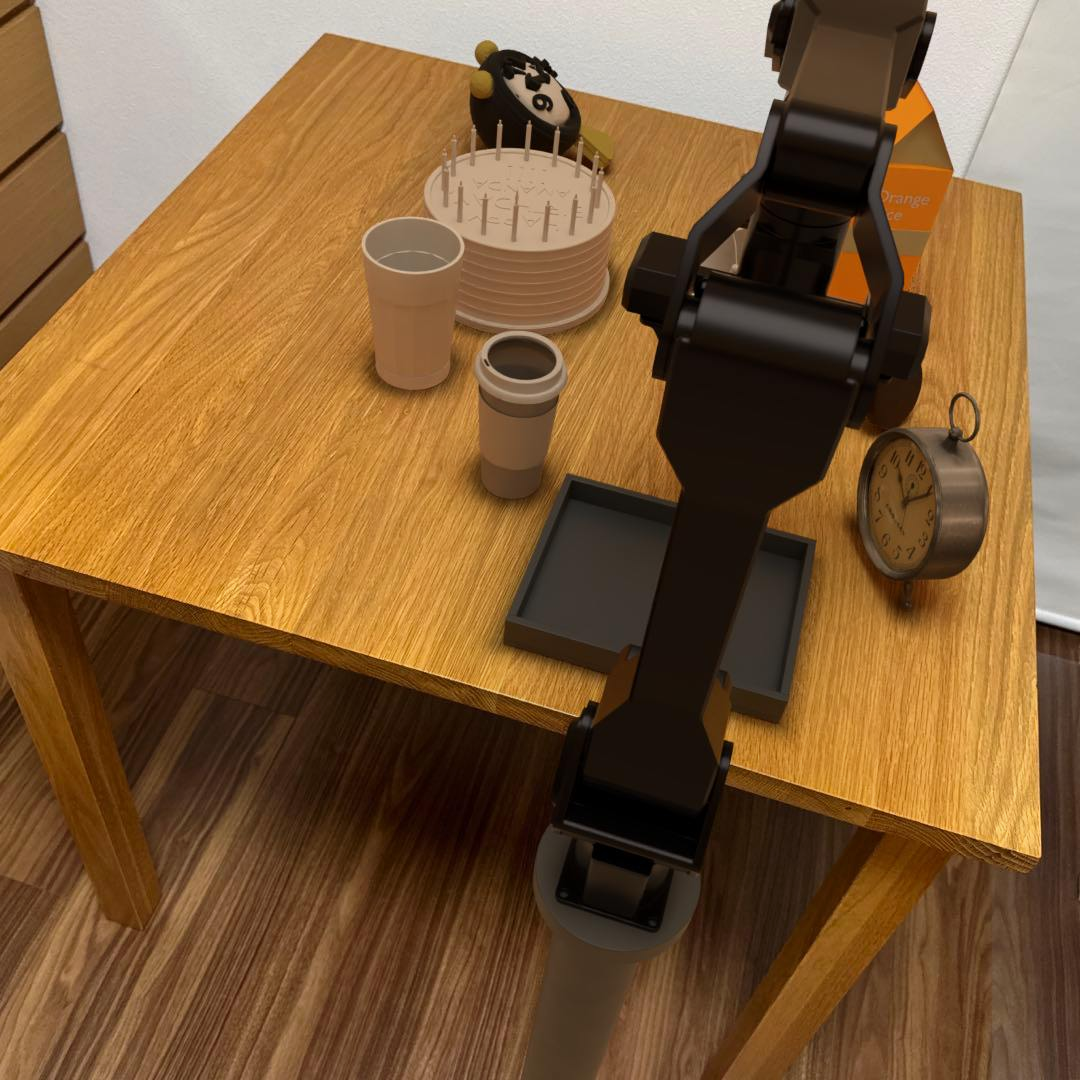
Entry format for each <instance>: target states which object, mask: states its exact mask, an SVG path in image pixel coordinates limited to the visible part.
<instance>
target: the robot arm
mask: <svg viewBox="0 0 1080 1080" xmlns="http://www.w3.org/2000/svg"><path fill="white" fill-rule="evenodd" d="M928 3H929V0H777V2H775V3H774V4H773V5H772V6H771V10H770V15H769V18H768V22H767V26H766V27H767V28H766V35H765V44H764V52H763V57H764V58H768V59H771V72H775V73H779V74H778V77H777V84H778V86H779V87H780V88H781V89H782V90H785V91H786V92H785V93H784V97H783V100H782V99H778V98H773V100H772V101H771V105H770V108H769V111H768V115H767V119H766V121H765V125H764V128H763V131H762V132H763V133H762V136H761V139H760V143H759V146H758V149H757V153H756V157H755V161H754V164H753V166H752V167H751V168H750V169H749V170H747V172H746V173H744V172H743V173H742V174H741V176H740V178H739V180H738V181H737V182H736V183H735V184H734V185H733V186H732V187H730V189H728V191H726V192H725V193H724V195H722V197H720V198H719V199H718V200H717V201H716V202H715V203H714V204H713V205H712V206H711V207H710V208H709V209H708V210H707V211H706V212H705V213H704V214H703V215H702V216H700V217H699V219H697V221H696V222H695V223H694V224H693V225H692V227H691V228H690V230H689V232H688V234H687V238H683V237H680V236H679V237H678V236H676V235H675V236H674V235H671V234H667V233H666V234H665V233H662V232H658V231H653V230H652V231H651V232H649V233H648V234H646V235H644V237H642V238H641V240H640V242H639V244H638V247H637V249H636V251H635V253H634V256H633V258H632V260H631V261H630V262H631V263H630V265H629V266H628V269H627V272H626V276H625V280H624V284H623V288H622V295H621V301H620V305H621V307H623V309H624V310H625V311H626V312H628V313H632V314H636V315H639V318H638V319H639V322H640V324H641V325H643V326H645V327H648V328H651V329H652V330H653V332H654V334H655V336H656V338H657V344H656V349H655V354H654V358H653V363H652V369H651V378H652V379H655V380H658V381H662V382H665V385H664V390H663V393H662V394H663V395H662V400H661V404H660V409H659V415H658V420H657V425H656V429H655V438H656V441H657V442H658V445H659V447H660V449H661V450H662V452H663V454H664V456H665V458H666V460H667V462H668V463H669V465H670V467H671V469H672V472H673V473H674V475H675V477H676V479H677V481H678V483H679V485H680V491H679V492H680V493H679V496H678V500H677V507H676V511H675V515H674V519H673V523H672V527H671V531H670V535H669V539H668V543H667V547H666V551H665V555H664V559H663V563H662V567H661V571H660V575H659V579H658V583H657V587H656V591H655V595H654V599H653V603H652V607H651V611H650V615H649V619H648V623H647V627H646V631H645V635H644V639H643V643H642V647H640V646H637V645H634V644H628V645H627V646H626V647H625V648H624V649H622V650H621V651H620V654H619V657H618V660H617V663H616V666H614V667H612V668H611V669H610V672H609V674H607V675H608V676H607V679H606V681H605V684H604V686H603V687H604V688H603V691H602V694H601V696H600V699H599V702H598V701H596V700H592V699H589V700H588V701H587V704H586V706H584V707H583V708H582V710H581V713H580V715H578V716H577V717H576V718H573V719H572V720H570V721H569V723H568V727H567V731H566V735H565V738H564V741H563V746H562V750H561V753H560V757H559V761H558V765H557V769H556V772H555V776H554V780H553V784H552V790H551V793H550V799H549V800H550V802H551V804H552V805H553V807H554V808H553V813H552V817H551V821H550V824H549V825H553V826H552V833H555V834H558V835H561V834H563V835H566V836H570V837H572V839H571V843H570V846H569V849H568V852H567V855H566V859H565V862H564V865H563V868H562V872H561V875H560V878H559V881H558V885H557V888H556V891H555V899H556V901H557V902H559V903H560V904H563V905H566V906H569V907H572V908H576V909H579V910H582V911H585V912H588V913H591V914H594V915H597V916H600V917H603V918H606V919H609V920H613V921H616V922H619V923H622V924H625V925H628V926H631V927H634V928H637V929H640V930H643V931H647V932H650V933H656V932H658V931H659V930H660V927H661V925H662V921H663V916H664V912H665V908H666V903H667V899H668V895H669V891H670V886H671V882H672V878H673V874H674V870H678V871H681V872H684V873H687V875H688V876H692V877H695V878H696V877H697V876H698V875H699V873H701V870H702V866H703V863H704V859H705V856H706V853H707V849H708V845H709V842H710V840H711V835H712V832H713V828H714V825H715V821H716V817H717V814H718V810H719V807H720V802H721V799H722V796H723V792H724V789H725V785H726V781H727V777H728V775H729V770H730V766H731V763H732V762H731V761H732V757H733V753H734V747H735V742H733V741H730V740H727V739H725V738H726V733H727V728H728V723H729V718H730V716H731V715H730V714H731V711H732V710H731V705H732V704H731V701H730V700H729V695H730V691H731V687H732V682H731V679H730V675H729V672H727V671H724V670H720V669H719V668H720V665H721V662H722V659H723V656H724V653H725V650H726V647H727V644H728V641H729V638H730V635H731V632H732V629H733V626H734V623H735V620H736V617H737V614H738V611H739V608H740V605H741V602H742V599H743V596H744V593H745V590H746V587H747V584H748V581H749V578H750V575H751V572H752V569H753V566H754V563H755V560H756V557H757V554H758V551H759V548H760V545H761V542H762V539H763V536H764V533H765V530H766V527H768V524H769V521H770V518H771V515H772V512H773V511H774V510H776V509H778V508H779V507H781V506H783V505H784V504H787V503H788V502H790V501H791V500H793V499H795V498H796V497H798V496H800V495H801V494H803V493H806V491H809V490H810V489H811V488H813V487H815V486H817V485H819V484H820V483H821V482H823V481H824V480H825V478H826V477H827V474H828V472H829V469H830V466H831V463H832V462H833V459H834V456H835V454H836V452H837V449H838V446H839V444H840V442H841V439H842V437H843V434H844V432H845V429H846V428H847V429H851V430H854V431H860V430H861V429H862V427H863V425H864V423H865V420H866V419H867V418H866V416H867V413H868V411H869V408H870V405H871V402H872V399H873V396H874V393H875V390H876V387H877V384H882V385H885V384H888V383H890V381H891V379H892V377H894V378H899V379H903V380H909V379H912V378H915V377H916V376H917V373H918V371H919V369H920V366H922V364H923V361H924V359H925V356H926V353H927V349H928V346H929V341H930V331H931V321H932V313H933V311H932V310H933V307H932V304H931V303H930V301H929V299H928V297H927V295H924V294H920V293H915V292H911V291H909V290H908V291H903V287H904V271H903V268H902V264H901V261H900V258H899V254H898V251H897V248H896V244H895V241H894V238H893V234H892V231H891V228H890V224H889V221H888V218H887V214H886V211H885V208H884V204H883V201H882V198H881V191H882V187H883V184H884V180H885V176H886V173H887V169H888V165H889V162H890V158H891V154H892V151H893V147H894V143H895V139H896V134H897V129H898V126H897V125H894V124H889V123H885V113H886V111H891V110H893V109H895V108H896V107H897V103H898V100H899V98H902V99H906V98H907V96H908V95H909V93H910V92H911V90H912V89H913V87H914V86H915V84H916V82H917V80H918V79H919V76H920V74H921V72H922V68H923V66H924V64H925V63H924V62H925V60H926V56H927V54H928V51H929V48H930V44H931V41H932V38H933V34H934V30H935V27H936V22H937V19H938V12H937V11H931V10H927V8H928ZM918 81H919V80H918ZM853 217H855V219H854V222H853V237H854V241H855V244H856V248H857V251H858V254H859V258H860V261H861V265H862V268H863V271H864V275H865V278H866V281H867V285H868V288H869V292H868V295H867V297H866V300H865V303H860V302H856V301H851V300H847V299H843V298H839V297H835V296H831V295H827V293H828V290H829V287H830V284H831V281H832V278H833V275H834V272H835V268H836V265H837V262H838V259H839V256H840V253H841V250H842V247H843V244H844V241H845V238H846V235H847V231H848V228H849V225H850V222H851V219H852V218H853ZM740 228H743V229H747V233H746V237H745V241H744V245H743V249H742V253H741V257H740V261H739V265H738V269H737V273H736V274H733V273H729V272H725V271H721V270H716V269H712V268H708V267H704V266H700V265H701V264H702V263H703V262H704V261H705V260H706V259H707V258H708V257H709V256H710V255H711V254H712V253H713V252H714V251H715V250H716V249H717V248H719V247H720V246H721V245H722V244H723V243H724V242H725V241H726V240H727V239H728V238H729V237H730V236H731V235H732V234H733V233H734V232H735V231H736V230H737V229H740ZM561 892H565V893H566V894H567V896H566V897H562V896H560V893H561ZM649 921H654V922H655V923H656V926H651V925H650V924H649Z"/></svg>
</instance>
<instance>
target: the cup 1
mask: <svg viewBox="0 0 1080 1080" xmlns="http://www.w3.org/2000/svg"><path fill="white" fill-rule="evenodd" d="M360 245H361V253H362V260H363V268H364V275H365V282H366V287H367V296H368V303H369V311H370V321H371V327H372V336H373V345H374V353H375V354H374V356H375V370H376V373H377V375H378V377H379V378H380V379H381V380H382V381H384V383H386V384H388V385H390V386H392V387H395V388H396V389H397V388H398V389H402V390H408V391H420V390H426V389H429V388H434V387H436V386H437V385H439V384H441V383H442V382H443V381H445V380H446V378H447V377H448V376H449V373H450V371H451V354H452V344H453V337H454V328H455V322H456V321H455V313H456V305H457V297H458V289H459V284H460V277H461V270H462V263H463V256H464V248H465V246H464V242H463V239H462V237H461V236H460V235H459V233H458V232H457V231H455V230H454V229H453V228H451V227H450V226H448V225H446V224H444V223H442V222H439V221H436V220H433V219H429V218H423V216H398V217H391V218H388V219H384V220H382V221H380V222H378V223H375V224H374V225H372V226H371V227H370V228H368V229H367V230H366V232H365V233H364V234H363V235H362V238H361V243H360Z"/></svg>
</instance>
